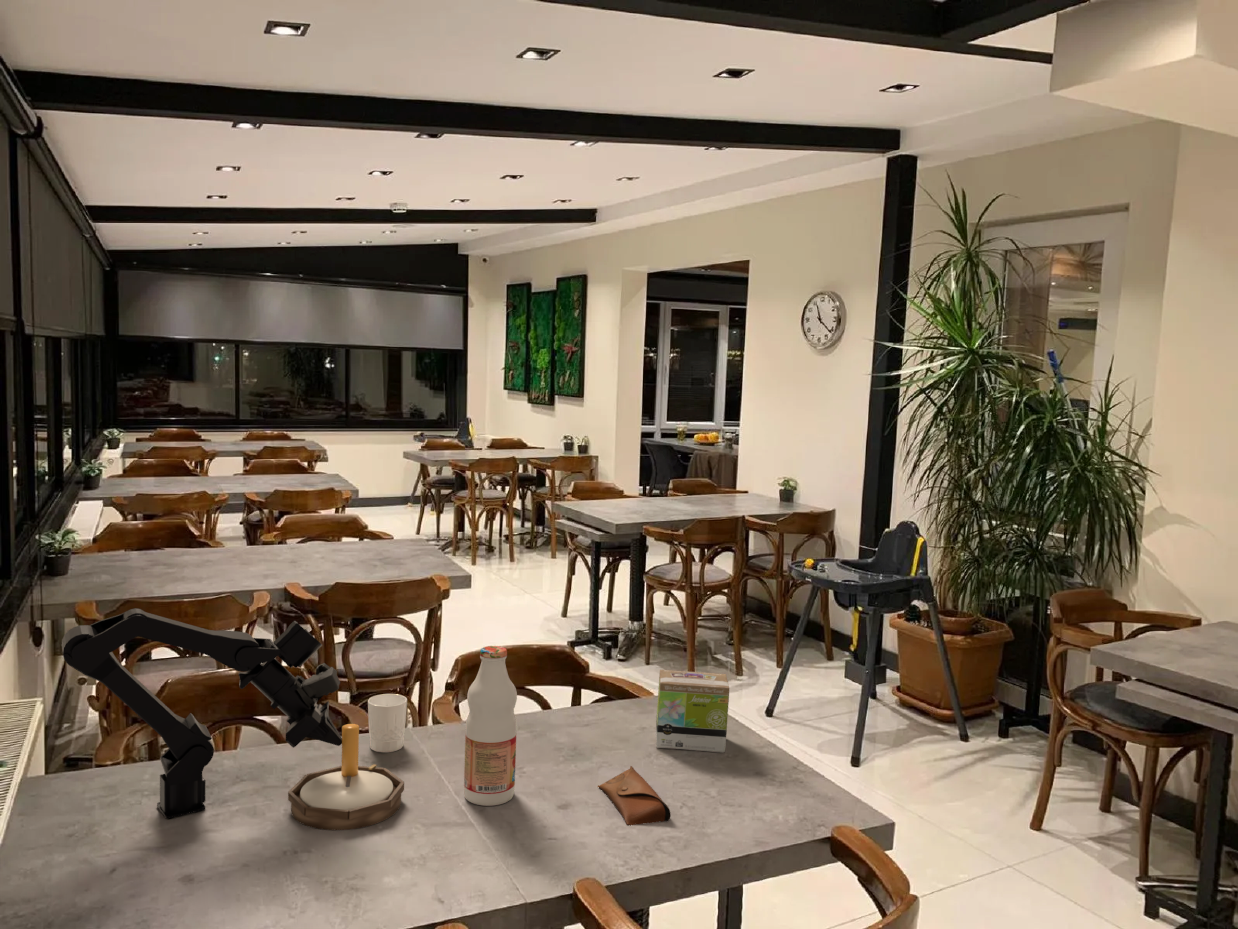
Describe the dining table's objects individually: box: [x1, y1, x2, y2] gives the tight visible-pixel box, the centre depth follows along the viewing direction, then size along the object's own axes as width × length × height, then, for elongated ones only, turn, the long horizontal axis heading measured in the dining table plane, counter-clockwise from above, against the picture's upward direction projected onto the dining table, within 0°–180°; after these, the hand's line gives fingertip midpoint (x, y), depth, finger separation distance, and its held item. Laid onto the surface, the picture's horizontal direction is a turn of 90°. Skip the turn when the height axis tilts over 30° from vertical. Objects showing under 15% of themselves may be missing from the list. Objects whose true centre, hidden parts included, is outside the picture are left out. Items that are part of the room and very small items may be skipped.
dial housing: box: [287, 763, 405, 831], centre depth 172 cm, size 19×19×4 cm
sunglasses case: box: [597, 765, 672, 826], centre depth 178 cm, size 18×7×7 cm
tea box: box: [655, 669, 730, 754], centre depth 208 cm, size 15×10×15 cm
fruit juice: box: [463, 645, 518, 807], centre depth 177 cm, size 9×9×28 cm
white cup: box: [367, 693, 408, 753], centre depth 199 cm, size 8×8×10 cm
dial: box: [300, 723, 393, 810], centre depth 171 cm, size 16×16×10 cm
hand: (341, 743), depth 178 cm, fingers closed, pressing on dial
